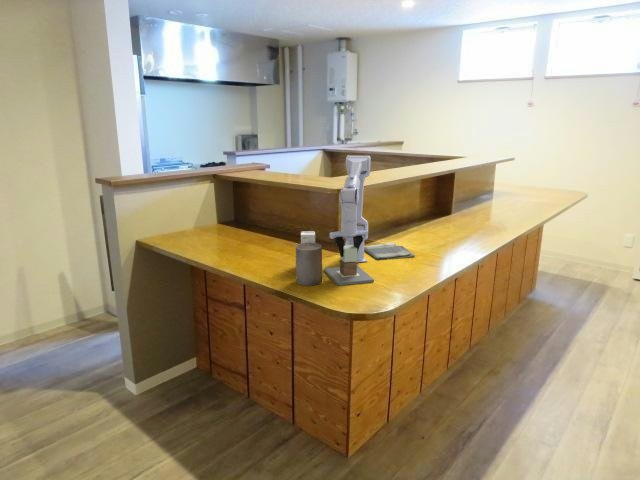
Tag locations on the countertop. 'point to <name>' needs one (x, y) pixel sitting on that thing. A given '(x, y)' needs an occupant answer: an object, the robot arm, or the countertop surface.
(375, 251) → the dish towel
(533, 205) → the countertop surface
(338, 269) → the base plate
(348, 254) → the sage block
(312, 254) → the pillar candle
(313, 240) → the syrup box
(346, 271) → the walnut block
